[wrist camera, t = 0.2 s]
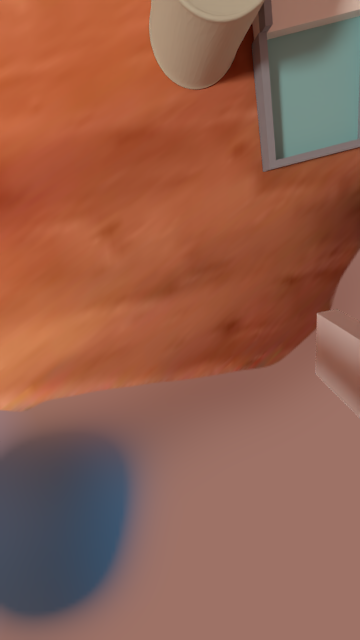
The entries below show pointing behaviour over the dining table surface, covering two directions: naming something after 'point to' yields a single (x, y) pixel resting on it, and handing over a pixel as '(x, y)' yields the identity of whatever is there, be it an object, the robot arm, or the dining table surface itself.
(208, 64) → the can
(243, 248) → the dining table surface
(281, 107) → the two-tone serving tray
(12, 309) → the dining table surface
